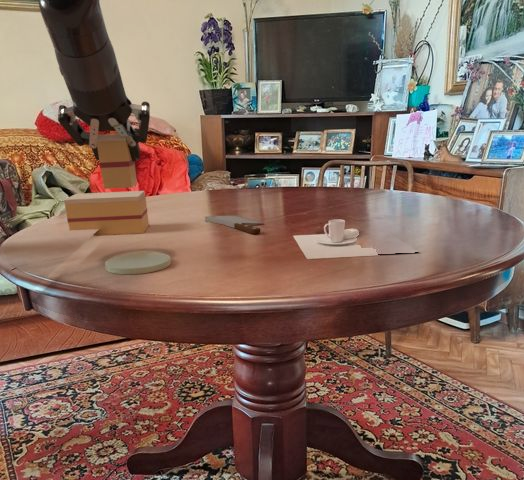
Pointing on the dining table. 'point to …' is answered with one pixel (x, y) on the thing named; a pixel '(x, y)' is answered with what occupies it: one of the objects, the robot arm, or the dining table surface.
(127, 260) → the plate
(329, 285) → the dining table surface
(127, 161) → the cake slice
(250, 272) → the dining table surface
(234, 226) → the kitchen cleaver
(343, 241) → the teacup and saucer
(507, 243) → the dining table surface
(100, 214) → the cake
